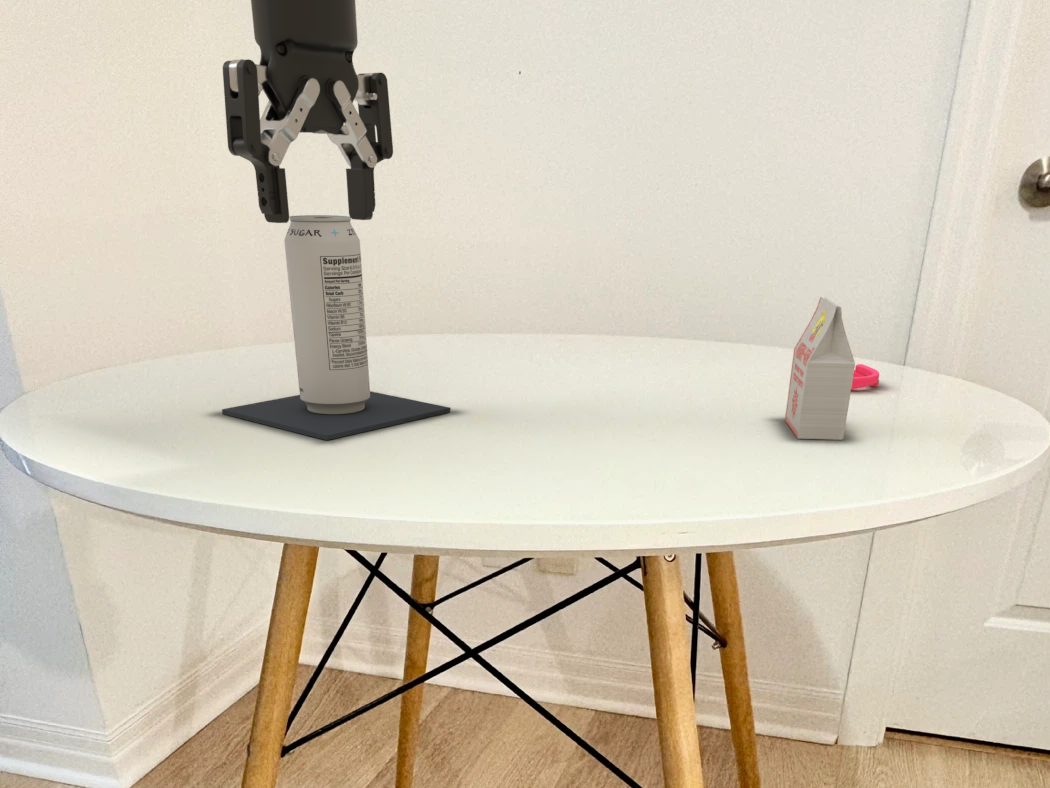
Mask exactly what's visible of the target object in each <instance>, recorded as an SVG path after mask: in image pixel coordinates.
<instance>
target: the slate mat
mask: <svg viewBox="0 0 1050 788" xmlns="http://www.w3.org/2000/svg"><path fill="white" fill-rule="evenodd" d="M448 413H451V407H448V406H445V405H439V404H434V403H429V402H425V401H419V400H414V399H410V398H406V397H400V396H396V395H390V394H387V393H386V394H385V393H381V392H377V391H376V392H375V391H371V390H370V398H369V399H368V400H366V402H365V408H364V409H363V410H361V411H358V412H354V413H347V414H320V413H314V412H311V411H309V410H308V408H307V404H306V403H305V402H304V401H302V400H301V399H300V394H297V395H291V396H286V397H280V398H275V399H270V400H264V401H259V402H254V403H248V404H242V405H237V406H231V407H227V408H222V409H221V414H222V415H226V416H229V417H233V418H237V419H240V420H246V421H249V422H253V423H258V424H260V425H261V424H262V425H266V426H269V427H273V428H275V429H276V428H277V429H281V430H285V431H289V432H293V433H296V434H300V435H304V436H307V437H312V438H316V439H319V440H320V439H321V440H324V441H331V440H334V439H340V438H344V437H349V436H353V435H357V434H361V433H365V432H371V431H373V430H378V429H384V428H387V427H392V426H395V425H400V424H404V423H410V422H414V421H418V420H422V419H426V418H431V417H435V416H439V415H444V414H448Z"/></svg>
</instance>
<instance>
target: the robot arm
mask: <svg viewBox="0 0 1050 788" xmlns="http://www.w3.org/2000/svg"><path fill="white" fill-rule="evenodd" d="M250 6H251V16H252V25H253V36H254V41H255V43H256V44H257V46H258V47H259V50H260V60H259V63H258V64H257V63H255V62H254V60H253V59H243V58H242V59H232V60H226V61H224V62H223V65H222V77H223V78H222V80H223V94H224V111H225V124H226V136H227V137H226V138H227V148H228V151H229V153H230V154H231V155H232V156H235V157H240V158H243V159H244V160H246V161H249V162H250V163H251V164H252V166H253V167H254V171H255V181H256V189H257V198H258V201H257V202H258V208H259V210H260V212H261V214H263V216H264V219H265V221H266V222H267V223H271V224H272V223H273V224H287V223H288V222H289V221H290V209H289V197H288V187H287V176H286V168H284V167H283V168H282V167H280V166H281V164H282V162H283V161H284V158H285V156H286V153H287V151H288V149H289V147H290V145H291V144H292V143H293V142H294V141H296V140H297V138H298V136H299V134H300V133H303V134H304V133H309V134H311V133H312V134H319V135H321V134H323V135H325V134H326V136H327V138H328V139H329V140H330V142H331V143H333V144H334V145H336V146H337V147H338V150H339V152H340V153H341V155H342V157H343V158H344V160H345V162H346V164H347V165H348V166H349V167H350V168H345V173H346V188H347V189H346V191H347V203H348V204H347V207H348V215H349V217H351V220H355V221H356V220H357V221H371V220H372V219H373V215H374V212H375V209H376V189H375V167H376V166H377V164H379V163H380V162H382V161H384V160H390V159H392V157H393V155H394V145H393V143H394V142H393V133H392V132H393V131H392V121H391V120H392V119H391V110H390V109H391V108H390V97H389V86H388V85H389V83H388V78H387V75H386V74H385V73H384V72H367V73H366V72H365V73H358V74H357V72H356V70H355V66H354V62H353V57H354V56H353V55H354V52H355V51H356V49H357V47H358V27H357V26H358V25H357V9H356V7H357V6H356V0H250ZM261 92H264V94H265V96H266V98H267V99H268V101H267V104H266V106H265V108H264V110H263V113H262V115H260V112H261V111H260V98H259V97H260V95H261ZM354 101H356V103H357V108H358V111H357V109H356V107H355V104H353V103H354Z"/></svg>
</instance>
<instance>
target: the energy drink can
mask: <svg viewBox="0 0 1050 788" xmlns="http://www.w3.org/2000/svg"><path fill="white" fill-rule="evenodd" d="M351 220H352V219H351V217H350V215H349V216H348V215H335V214H334V215H333V214H332V215H330V214H305V215H303V214H301V215H289V221H290V223H289V226H288V229H287V232H286V234H285V236H284V240H283V243H284V251H285V261H286V270H287V271H286V272H287V283H288V291H289V301H290V310H291V320H292V332H293V340H294V341H293V342H294V350H295V362H296V370H297V371H296V372H297V380H298V391H299V395H300V399H301V400H302V401H304V402H305V403H306V404H307V408H308V410H309V411H311V412H314V413H320V414H347V413H354V412H358V411H361V410H363V409H364V408H365V402H366V400H368V399H369V398H370V391H371V385H370V373H369V357H368V344H367V343H368V342H367V328H366V313H365V312H366V311H365V310H366V309H365V297H364V282H363V267H362V254H361V239H360V238H359V236H358V234H357V232H356V231H355V229H354V228H353V225H352V223H351Z"/></svg>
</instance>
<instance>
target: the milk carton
mask: <svg viewBox="0 0 1050 788" xmlns="http://www.w3.org/2000/svg"><path fill="white" fill-rule="evenodd" d="M842 312H843V311H842V306H840V305H838V304H836V302H834V301H832V300H830V299H829V298H827V297H823V296H822V297H821V296H820V297H819V300H818V303H817V306H816V309H815V311H814V313H813V315H812V316H811V319H810V321H809V323H808V324H807V326H806V328H805V329H804V331H803V333H802V334H801V336H800V338H799V339H798V341H797V343H796V345H795V346H794V348H793V355H792V363H791V369H790V370H791V371H790V376H789V386H788V392H787V393H788V394H787V401H786V408H785V410H786V411H785V416H784V421H785V422H786V424H787V425H788V427H789V428H790V430H791V431H792V433H793V435H794V436H795V437H796V439H800V440H802V439H803V440H832V441H833V440H834V441H835V440H836V441H838V440H840V441H843V440H844V437H845V432H846V431H845V430H846V424H847V418H848V412H849V406H850V400H851V392H852V389H851V387H852V381H853V375H854V370H855V368H856V362H855V358H854V355H853V352H852V349H851V346H850V342H849V339H848V336H847V334H846V330H845V326H844V321H843V314H842Z"/></svg>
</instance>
